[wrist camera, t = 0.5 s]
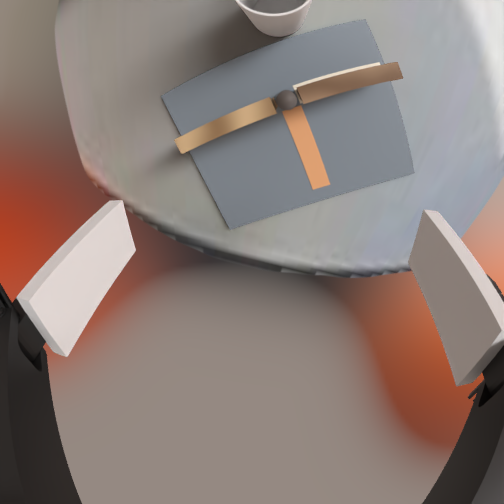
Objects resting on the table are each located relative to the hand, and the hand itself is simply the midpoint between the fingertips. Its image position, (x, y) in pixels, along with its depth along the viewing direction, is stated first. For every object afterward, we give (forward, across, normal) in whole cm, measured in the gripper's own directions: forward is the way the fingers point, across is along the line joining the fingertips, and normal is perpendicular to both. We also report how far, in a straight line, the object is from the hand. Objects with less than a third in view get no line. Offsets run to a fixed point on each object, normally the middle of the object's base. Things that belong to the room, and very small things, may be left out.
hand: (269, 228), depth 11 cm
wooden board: (+24, -6, +1) cm, 25 cm away
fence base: (+24, +6, +6) cm, 26 cm away
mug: (+25, 0, +16) cm, 30 cm away
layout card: (+25, +2, 0) cm, 25 cm away
